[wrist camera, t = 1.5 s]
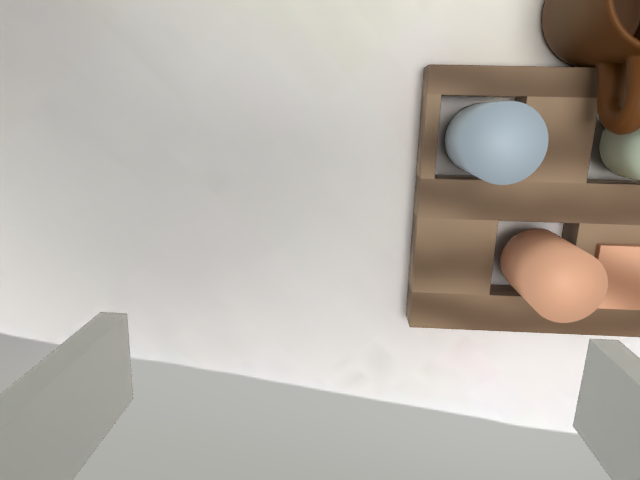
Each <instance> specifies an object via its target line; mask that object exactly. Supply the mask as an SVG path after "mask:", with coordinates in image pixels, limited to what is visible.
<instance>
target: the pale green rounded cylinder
mask: <svg viewBox="0 0 640 480" xmlns="http://www.w3.org/2000/svg"><path fill="white" fill-rule="evenodd" d="M600 155H601V158H602V161H603V163H604V164H605V166H606V167H607V168H608V169H609V170H610V171H611V172H613V173H614V174H616V175H619V176H622V177H626V178H630V179H635V180H639V181H640V129H638V130H636V131H635V132H633V133H631V134H623V135H618V134H614V133H612V132H609V131H608V130H607V129H606V128H605V129H604V131H603V134H602V136H601V140H600Z"/></svg>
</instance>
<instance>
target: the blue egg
mask: <svg viewBox="0 0 640 480" xmlns="http://www.w3.org/2000/svg"><path fill="white" fill-rule="evenodd" d="M548 140H549V139H548V130H547V127H546V124H545V122H544V120H543V118H542V117H541V115H540V114H539V113H538V112H537V111H536V110H535V109H534V108H532V107H531V106H529V105H527V104H524V103H522V102H517V101H500V102H486V103H476V104H472V105H469V106H467V107H465V108H463V109H462V110H460V111H459V112H458V113H457V114H456V115H455V116H454V117H453V118H452V120H451V121H450V123H449V125H448V127H447V130H446V134H445V148H446V152H447V154H448V156H449V158H450V160H451V161H452V162H453V163H454V164H455V165H456V166H457V167H458V168H460V169H462V170H464V171H466V172H468V173H470V174H472V175H474V176H476V177H478V178H480V179H482V180H484V181H486V182H489V183H492V184H496V185H508V184H513V183H517V182H519V181H522V180H524V179H525V178H527V177H528V176H530V175H531V174H532V173H533V172H534V171H535V170H536V169H537V168H538V167H539V166H540V164H541V163H542V161H543V159H544V157H545V155H546V152H547V148H548Z"/></svg>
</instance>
